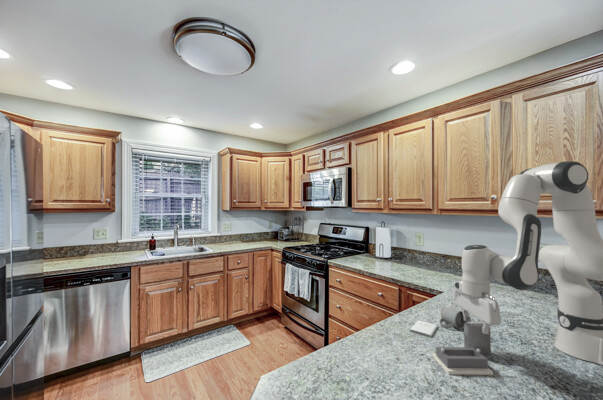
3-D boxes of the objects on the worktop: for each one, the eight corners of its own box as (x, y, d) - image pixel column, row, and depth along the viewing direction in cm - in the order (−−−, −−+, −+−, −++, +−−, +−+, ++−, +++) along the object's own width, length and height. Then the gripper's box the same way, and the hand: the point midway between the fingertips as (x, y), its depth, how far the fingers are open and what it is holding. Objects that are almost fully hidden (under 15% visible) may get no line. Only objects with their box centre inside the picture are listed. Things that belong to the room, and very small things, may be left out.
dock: (471, 356, 90) (471, 341, 90) (493, 374, 80) (492, 358, 80) (432, 356, 90) (432, 341, 90) (448, 374, 80) (448, 357, 80)
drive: (485, 350, 94) (485, 323, 94) (490, 354, 92) (490, 326, 92) (464, 350, 94) (463, 323, 95) (468, 354, 92) (468, 326, 92)
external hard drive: (410, 332, 109) (418, 323, 118) (431, 339, 103) (437, 328, 113) (410, 329, 109) (417, 319, 118) (430, 335, 103) (437, 324, 113)
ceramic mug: (450, 320, 121) (450, 304, 121) (467, 327, 113) (467, 310, 113) (434, 324, 116) (434, 307, 117) (451, 332, 109) (450, 314, 109)
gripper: (506, 298, 83) (506, 341, 83) (466, 281, 104) (466, 316, 103) (487, 298, 84) (487, 340, 83) (451, 281, 104) (451, 315, 103)
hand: (475, 327), depth 93 cm, fingers open, 8 cm apart
